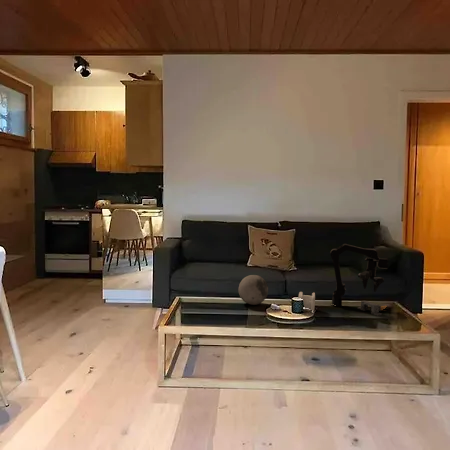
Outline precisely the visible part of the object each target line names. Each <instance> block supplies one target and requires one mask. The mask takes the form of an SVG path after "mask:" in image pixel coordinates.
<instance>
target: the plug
mask: <svg viewBox="0 0 450 450" xmlns="http://www.w3.org/2000/svg"><path fill="white" fill-rule="evenodd" d="M386 307H387V305H379V310H378V312H379V311H380V312H381V311H384V310H383V309H385V308H386ZM370 312H371V309H370ZM380 312H379V313H380Z"/></svg>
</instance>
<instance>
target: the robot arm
mask: <svg viewBox="0 0 450 450" xmlns="http://www.w3.org/2000/svg"><path fill="white" fill-rule="evenodd" d="M345 251H348V252H353V253H355V254H356V253H357V254H360V255H364V256H366V258H364V261H365V262H366V261H367V266H366V268H365V270H364V271H362V272H360V273H358V274H357V277H358V278H359V279H360V280H361V283H362V286H363V289H367V285H368V281H369V280H372V281H373V282H372V283H373V292H374V293H375V292H377V290H378V289H379V287H380V285H381V284H383V283H384V282H385V279H384V278H383V277H381V276H380V277H379V276H378V277H377V275H376V272H377V271H378V269H385V270H388V268H389V260H388V258H380V256H379V255H378V252H377V250H376V249H375V248H363V247H359V246H355V245H351V244H347V243H343V244H342V245H340V246H337V247H336V248H332V249H331V250H330V252H329V253H330V258H331V260H332V263H333V268H334V274H335V275H334V276H335V281H336V285H335V286H336V288H335V290H334V291H333V292H332V297H331V304H332V303H333V304H334V305H336V307H335V308H339V306H341V307H343V306H342V305H343V299H342V296H344V295H346V294H345V293H346V292H347V291H346V290H347V289H346V283H343V280H342V275H341V269H340V260H339V259H340V255H341V254H342V253H344V252H345ZM377 267H378V269H377Z"/></svg>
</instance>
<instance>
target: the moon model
mask: <svg viewBox="0 0 450 450" xmlns="http://www.w3.org/2000/svg"><path fill="white" fill-rule="evenodd" d="M267 283H268V282H267V281H266V280H265V278H263V277H262V276H260V275H259V274H258V275H256V274H250V275H247V276H245V277H243V278H242V280H241V281H240V283H239V284H238V285H239V286H238V294H239V297H240V299H241V300H242V301H243V302H244V303H246V304H247V305H251V306H255V305H260V304H261V303H263V302H264V301H265V300H266V299H267V297H268V294H269V286H268V284H267Z"/></svg>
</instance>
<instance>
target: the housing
mask: <svg viewBox="0 0 450 450" xmlns="http://www.w3.org/2000/svg"><path fill="white" fill-rule="evenodd" d="M360 302H361V303H360V306H358V307H357V309H358V310H361V311H363V312H364V311H368V310H369V307H370V310H371V311H370V313H371V314H372V315H375V316H376V317H377V316H382V313H381V312H378V310H379V306H380V305H379V304H377V303H374V302H370V301H368V300H361V301H360Z"/></svg>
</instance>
